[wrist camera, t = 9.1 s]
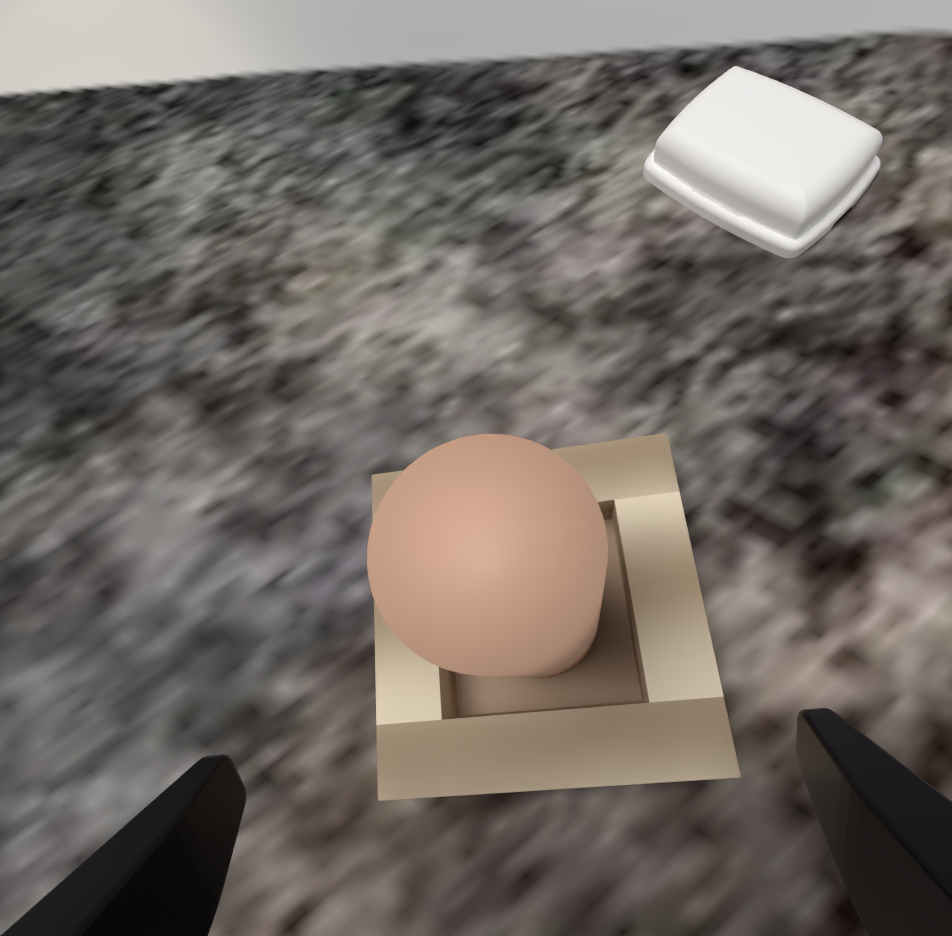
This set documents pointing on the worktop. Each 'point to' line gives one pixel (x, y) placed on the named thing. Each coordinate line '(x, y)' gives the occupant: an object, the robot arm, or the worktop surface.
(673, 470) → the socket block
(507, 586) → the dowel
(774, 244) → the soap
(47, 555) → the worktop surface
